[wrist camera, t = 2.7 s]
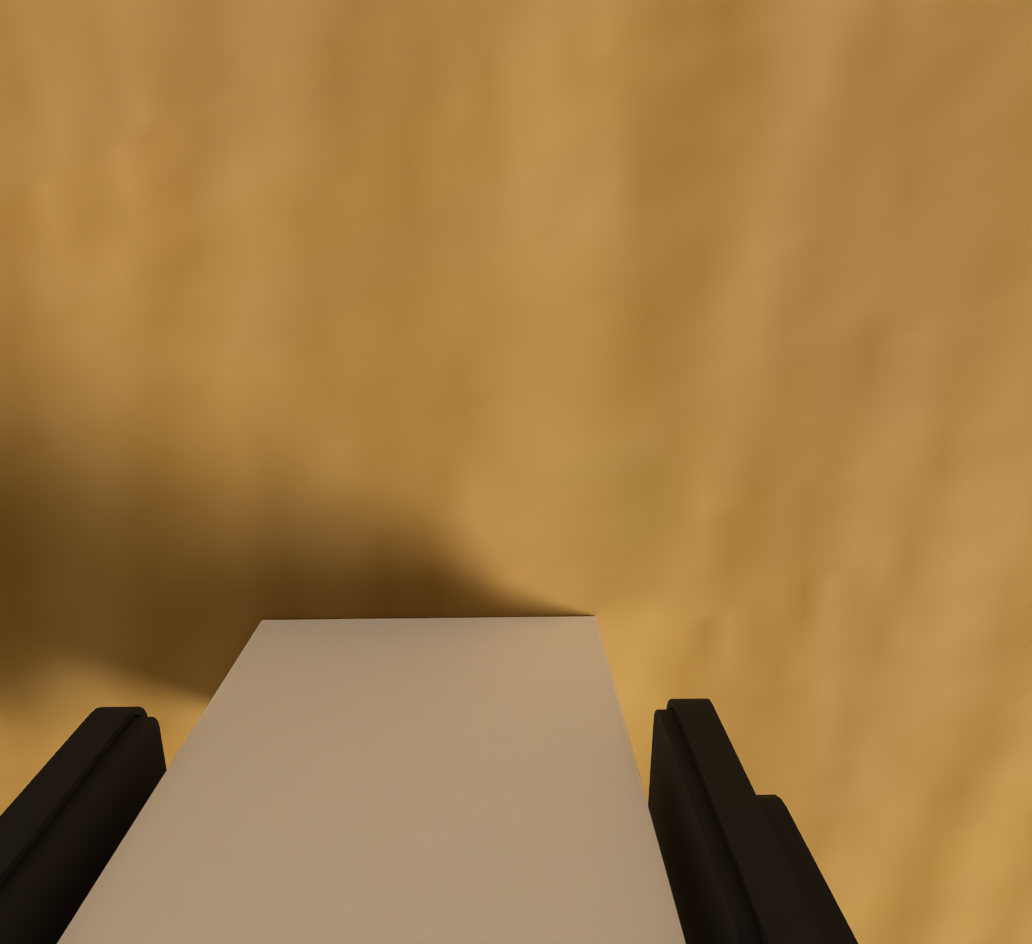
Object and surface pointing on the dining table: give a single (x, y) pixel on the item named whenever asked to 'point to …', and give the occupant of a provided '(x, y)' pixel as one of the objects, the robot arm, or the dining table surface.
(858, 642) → the dining table surface
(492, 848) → the domino
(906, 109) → the dining table surface
